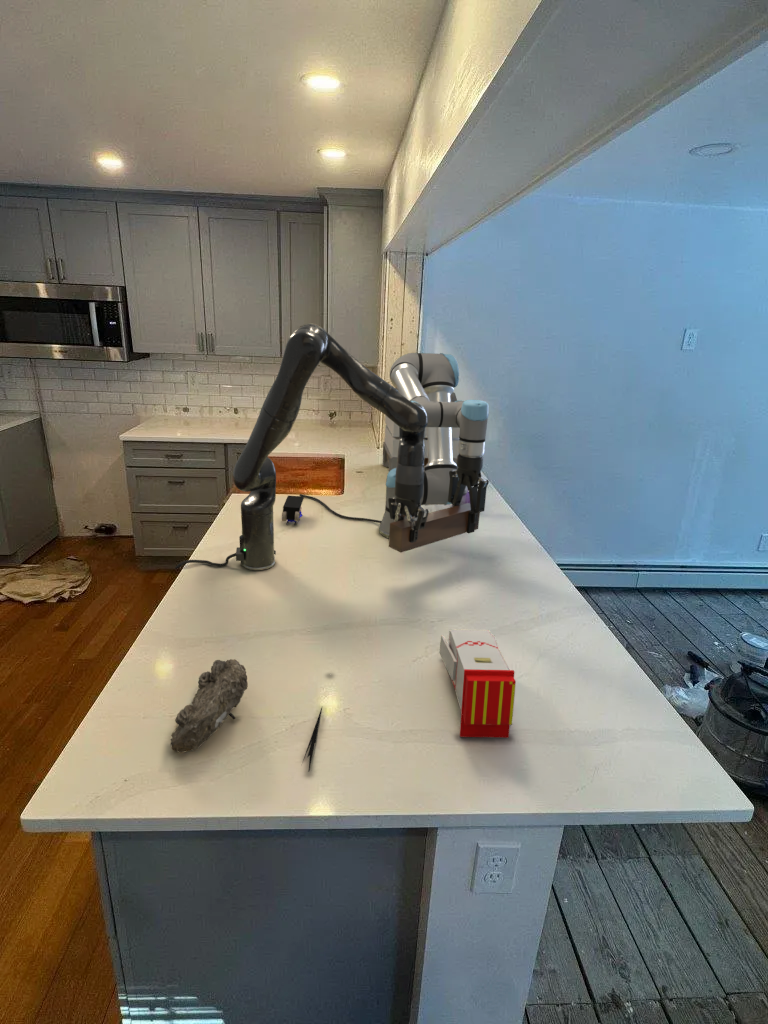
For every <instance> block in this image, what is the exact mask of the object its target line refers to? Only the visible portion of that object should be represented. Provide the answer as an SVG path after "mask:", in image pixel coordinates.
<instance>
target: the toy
mask: <svg viewBox="0 0 768 1024" xmlns="http://www.w3.org/2000/svg"><path fill="white" fill-rule="evenodd" d="M438 654H439V656H440V658H441V660H442V662H443V665H444V666H445V668H446V671H447V673H448V675H449V677H450V681H451V683H452V685H453V689H454V690H455V695H456V698H457V702H458V705H459V708H460V726H459V737H460V738H509V737H510V728H511V727H510V726H512V725H513V717H514V706H515V705H514V704H515V693H516V684H517V683H516V679H515V670H514V669H510V667H509V666H508V663H507V662H506V660H505V658H504V655H503V654H502V652H501V650H500V648H499V644H498V642H497V638H496V635H495V634H492V632H491V631H490V629H467V628H466V629H465V628H463V629H461V628H460V629H459V628H450V629H449V631H448V641H447V639H446V638H445V636H444V634H443V635H442V634H441V635H440V641H439V651H438Z"/></svg>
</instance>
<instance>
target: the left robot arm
mask: <svg viewBox="0 0 768 1024" xmlns="http://www.w3.org/2000/svg"><path fill="white" fill-rule="evenodd" d="M320 364H322V365H324V366H326V367H327V368H329V369H331V370H332V371H333V372H335V373H336V374H337V376H339V377H340V378H341V380H343V381H344V382H345V383H346V385H347V386H348V387H349V388H350V389H351V390H352V392H353V393H355V395H356V396H357V397H359V398H360V399H361V400H363V401H364V402H365V403H367V404H368V405H369V406H371V407H372V408H374V409H376V410H377V411H378V412H380V413H382V414H383V415H386V416H387V417H388V418H389V419H391V420H392V421H393V422H394V423H395V424H396V425H398V426H399V447H398V459H397V468H396V479H395V496H396V497H392V498H389V499H388V502H389V511H390V518H391V519H393V520H394V522H396V521H400V520H404V518H405V516H406V517H407V521H408V522H409V524H410V529H411V530H410V538H409V542H411V543H413V542H416V541H417V539H418V530H420V529H424V528H425V524H426V521H427V517H428V513H430V512H429V508H423V507H422V505H421V504H420V500H421V498H422V496H423V483H424V467H425V466H424V455H425V446H424V433H425V428H426V426H427V422H428V417H427V414H426V411H425V409H424V408H423V406H422V405H420V404H418V403H415V402H411V401H409V400H408V399H407V398H405V397H404V396H402V395H401V394H400V393H399V392H398V391H397V390H396V389H395V387H394V386H393V385H391V384H390V383H388V382H387V381H386V380H385V379H383V378H381V377H380V376H379V375H377V374H376V373H375V372H373V371H372V370H370V369H369V368H367V366H365V365H364V364H363V363H361V362H360V361H359V360H358V359H356V358H355V357H354V356H353V355H352V354H351V353H350V352H349V351H348V350H346V349H345V348H344V347H343V346H342V345H341V344H340V343H339V342H338V341H337V340H336V339H335V338H334V337H333V336H331V334H329V333H328V332H327V331H326V330H325V329H324V328H323V326H320V325H318V324H317V323H313V322H311V323H310V322H308V323H304V324H302V325H300V326H299V327H298V328H297V329H296V330H294V331H293V332H292V333H291V335H289V338H288V339H287V342H286V345H285V348H284V352H283V355H282V360H281V363H280V367H279V370H278V372H277V375H276V377H275V380H274V381H273V383H272V384H271V387H270V389H269V391H268V393H267V395H266V397H265V399H264V401H263V404H262V406H261V408H260V411H259V414H258V417H257V419H256V422H255V424H254V426H253V428H252V431H251V434H250V436H249V438H248V440H247V442H246V444H245V446H244V447H243V449H242V451H241V453H240V455H239V457H238V459H237V460H236V462H235V464H234V467H233V469H232V481H233V484H234V485H235V487H236V489H238V490H239V491H241V492H243V493H244V492H245V493H247V492H248V493H249V494H248V495H247V496H246V497H244V499H243V500H242V501H241V502H240V518H241V535H240V536H239V537H238V538H239V539H238V540H239V546H236V548H235V549H236V550H235V553H231V554H229V555H228V556H226V558H225V561H224V562H223V563H218V562H212V561H209V560H204V559H187V560H183V561H181V562H179V563H178V564H177V565H176V566H175V567H174V569H180V568H181V567H182V566H184V565H186V564H193V563H194V564H207V565H209V566H213V567H226V566H228V564H229V561H230V559H232V558H234V557H235V562H240V567H243V568H244V569H247V570H251V571H264V570H268V569H270V568H272V567H274V566H275V564H276V562H275V561H276V559H275V555H276V554H277V552H276V550H275V530H274V529H275V526H274V505H275V503H276V499H277V498H276V495H277V472H276V471H277V470H276V467H275V463H274V462H273V461H272V459H271V458H270V457H268V456H269V455H270V454H271V453H272V452H273V451H274V450H275V449H276V448H277V447H279V445H280V444H281V443H282V442H283V441H284V440H285V439H286V438H287V437H288V435H289V434H290V432H291V431H292V429H293V426H294V424H295V422H296V420H297V418H298V416H299V413H300V410H301V406H302V405H301V404H302V399H303V394H304V391H305V388H306V386H307V384H308V383H309V380H310V379H311V377H312V375H313V373H314V372H315V370H316V369H317V367H318V366H319V365H320ZM394 510H395V514H394ZM413 516H415V517H414V518H411V517H413ZM414 521H415V525H414Z"/></svg>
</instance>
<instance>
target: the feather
mask: <svg viewBox="0 0 768 1024" xmlns="http://www.w3.org/2000/svg"><path fill="white" fill-rule="evenodd" d="M329 675H330V676H331V675H332V674H331V673H330V674H329ZM322 710H323V707H321V708H320V710H319V713H318V716H317V719H316V723H315V725H314V728H313V731H312V733H311V737H310V739H309V742H308V745H307V748H306V751H305V754H304V757H303V760H302V763H301V767H302V765H303V763H304V761H305V758H308V759H309V760H308V762H307V763H308V764H307V766H308V771H310V770H311V766H312V765H311V764H312V760H313V757H315V756H314V755H315V751H316V749H315V746H317V739H318V733H319V729H320V722H321V717H322V712H323V711H322ZM313 754H314V755H313ZM306 755H307V757H306Z"/></svg>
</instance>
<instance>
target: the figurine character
mask: <svg viewBox="0 0 768 1024" xmlns="http://www.w3.org/2000/svg"><path fill="white" fill-rule="evenodd" d="M304 498H305V497H302V496H300V495H287V497H286V499H285V500H284V504H283V507H282V513H281V514H282V515H281V522H286V523H285V525H286V526H289V523H294V524H293V526H297V522H299V521H301V518H302V517H303V514H302V511H303V508H302V505H303V501H304V500H305V499H304Z"/></svg>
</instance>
